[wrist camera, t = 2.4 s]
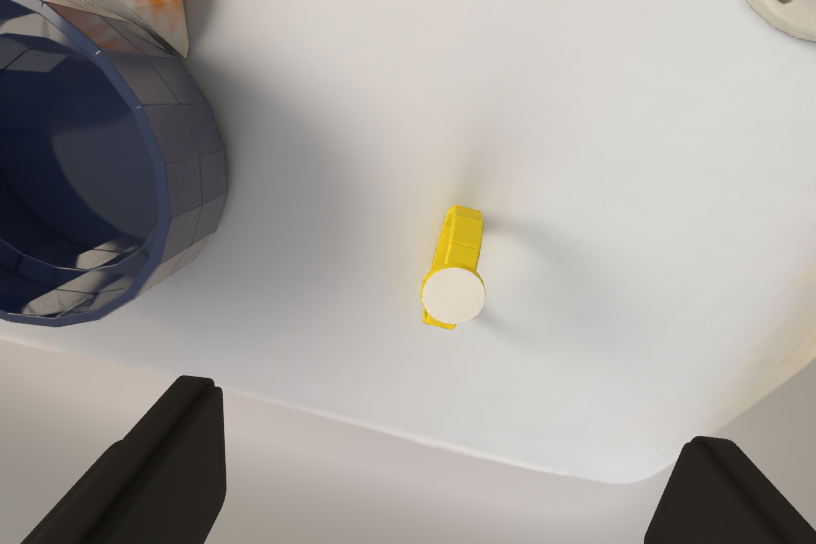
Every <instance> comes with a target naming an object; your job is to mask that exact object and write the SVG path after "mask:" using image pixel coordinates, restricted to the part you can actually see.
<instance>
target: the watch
mask: <svg viewBox="0 0 816 544" xmlns="http://www.w3.org/2000/svg"><path fill="white" fill-rule="evenodd" d="M482 233H483V220H482V214H481V212H480V211H478V210H474V209H470V208H466V207H462V206H458V205H454V206H452V207H451V208H450V209H449V211H448V213H447V216H446V218H445V220H444V222H443V228H442V231H441V235H440V238H439V242H438V245H437V249H436V252H435V256H434V259H433V263H432V266H431V270H430V272H429V273H428V274H427V275H426V276H425V278H424V280H423V283H422V288H421V300H422V304H423V308H424V309H423V322H424V323H425V324H429V325H433V326H437V327H441V328H446V329H450V330H452V329H454V328H455V326H456V325H457V324H459V323H464V322H466V321H468V320H470V319H472V318H474V317H475V316H476V315H477V314H478V313H479V312H480V310H481V308H482V307H483V305H484V301H485V289H484V284H483V280H482V279H481V277H480V275H479V274H478V272H477V271H476V268H477V264H478V259H479V255H480V249H481V242H482Z"/></svg>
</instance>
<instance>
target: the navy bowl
mask: <svg viewBox="0 0 816 544" xmlns="http://www.w3.org/2000/svg"><path fill="white" fill-rule="evenodd" d="M226 194H227V184H226V163H225V150H224V146H223V143H222V140H221V137H220V134H219V131H218V129H217V126H216V123H215V120H214V117H213V114H212V111H211V109H210V106H209V104H208V102H207V101H206V99H205V98H204V96H203V95H202V93H201V92H200V90H199V89H198V88H197V86H196V85H195V83H194V82H193V80H192V79H191V77H190V76H189V74H188V73H187V71H186V70H185V68H184V67H183V66H182V64H181V63H180V61H179V60H178V59H177V58H176V57H175V56H174V55H173V54H171V53H170V52H169V51H168V50H167V49H166V48H164V47H163V46H162V45H161V44H160V43H159V42H158V41H156V40H155V39H154V38H153V37H152V36H151V35H149V34H148V33H147V32H146V31H145V30H144V29H142V28H141V27H140V26H139V25H137V24H135V23H133V22H131V21H129V20H127V19H125V18H122V17H120V16H118V15H116V14H114V13H112V12H110V11H107V10H105V9H103V8H101V7H99V6H97V5H95V4H92V3H89V2H86V1H82V0H0V319H3V320H6V321H10V322H15V323H23V324H32V325H40V326H49V327H62V326H68V325H73V324H79V323H84V322H90V321H95V320H100V319H102V318H104V317H105V316H107V315H109V314H110V313H112V312H114V311H116V310H117V309H119V308H121V307H122V306H124V305H126V304H127V303H129V302H131V301H132V300H134V299H135V298H137V297H138V296H140V295H141V294H143V293H144V292H146V291H147V290H149V289H150V288H152V287H153V286H155V285H156V284H158V283H159V282H160V281H162V280H163V279H165V278H166V277H168V276H169V275H171V274H172V273H174V272H175V271H177V270H178V269H180V268H181V267H183V266H184V265H186V264H187V263H188V262H190V261H191V260H193V259H194V258H195V257H196V256H197V255H198V253H199V252H200V251H201V249H202V248H203V247H204V245H205V244H206V243H207V242H208V240H209V239H210V238H211V236H212V235H213V234H214V232H215V231H216V229H217V225H218V222H219V219H220V215H221V212H222V208H223V205H224V201H225V198H226Z"/></svg>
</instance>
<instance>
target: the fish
mask: <svg viewBox="0 0 816 544" xmlns="http://www.w3.org/2000/svg"><path fill="white" fill-rule="evenodd" d="M120 1H121V2H122V3H124V4H125V5H126V6H127V7H128V8H129V9H131V10H132V11H133V12H134V13H135V14H136V15H137V16H138V17H139V18H141V19H142V20H143V21H144V22H145V23H146V24H147V25H148V26H150V27H151V28H152V29H153V30H154V31H155V32H156V33H157V34H159V35H160V36H161V37H162V38H163V39H164V40H165V41H166V42H167V43H169V44H170V45H171V46H172V47H173V48H174V49H175V50H176V51H178V52H179V53H180V54H181V55H182V56H183V57H184V58H185V59H186V57H187V53H188V48H189V41H188V33H187V26H186V18H185V10H184V3H183V0H120Z"/></svg>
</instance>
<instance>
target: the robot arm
mask: <svg viewBox="0 0 816 544" xmlns="http://www.w3.org/2000/svg"><path fill="white" fill-rule="evenodd" d="M747 1H748V3H749V4H750V6H751V7H752V9H754V10H755V11H756V12H757V13H758V14H759V15H760V16H761V17H763V18H764V19H765V20H766V21H767V22H768V23H769V24H770V25H772V26H774V27H776V28H778V29H780V30H781V31H783V32H785V33H787V34H789V35H791V36H793V37H797V38H801V39H805V40H810V41H814V42H816V0H747ZM225 496H226V463H225V439H224V415H223V393H222V389H221V388H220V387H215V384H214V381H213V379H211V378H203V377H195V376H186V375H183V376H180V377H179V378H178V379H176V381H175V382H174V383H173V384H172V385H171V386H170V387H169V388H168V390H167V391H166V392H165V393H164V394H163V395H162V396H161V397H160V398H159V399H158V401H157V402H156V403H155V404H154V405H153V406H152V407H151V408H150V409H149V411H148V412H147V413H146V414H145V415H144V416H143V417H142V418H141V419H140V421H139V422H138V423H137V424H136V425H135V426H134V427H133V428H132V430H131V431H130V432H129V433H128V434H127V435H126V436H125V437H124V438H123V440H120V441H118V442H116V443H114V444H113V445H111V446H110V447H109V448H108V449H107V450H106V451H105V452H104V453H103V454H102V455H101V456H100V458H99V459H98V460H97V461H96V462H95V463H94V464H93V465H92V466H91V467H90V469H89V470H88V471H87V472H86V473H85V474H84V475H83V476H82V477H81V478H80V479H79V480H78V481H77V483H76V484H75V485H74V486H73V487H72V488H71V489H70V490H69V491H68V492H67V493H66V495H65V496H64V497H63V498H62V499H61V500H60V501H59V502H58V503H57V504H56V505H55V507H54V508H53V509H52V510H51V511H50V512H49V513H48V514H47V515H46V517H44V518H43V520H42V521H41V522H40V523H39V524H38V525H37V526H36V527H35V528H34V529H33V531H32V532H31V533H30V534H29V535H28V536H27V537H26V538H25V539H24V540H23V541H22V543H21V544H204V542H205V540H206V538H207V536H208V534H209V532H210V530H211V528H212V526H213V524H214V522H215V520H216V518H217V516H218V514H219V512H220V510H221V508H222V506H223V503H224V500H225ZM644 544H816V531H815V530H814V529H813V528H812V527H811V526H810V524H809V523H808V522H807V521H806V520H805V519H804V518H803V517H802V516H801V515H800V514H799V512H798V511H797V510H796V509H795V508H794V507H793V506H792V505H791V504H790V503H789V502H788V501H787V500H786V498H785V497H784V496H783V495H782V494H781V493H780V492H779V491H778V490H777V489H776V487H775V486H774V485H773V484H772V483H771V482H770V481H769V480H768V479H767V478H766V477H765V476H764V474H762V472H761V471H760V470H759V469H758V468H757V467H756V466H755V465H754V463H752V462H751V460H750V459H749V458H748V457H747V456H746V455H745V454H744V453H743V452H742V450H741V449H740V448H739V447H738V446H737V445H736V444H735V443H734V442H732V441H730V440H728V439H722V438H713V437H705V436H696V437H695V438H693V439H692V441H691V442H689V443H686V444H685V445H684V446H683V448H682V451H681V453H680V455H679V458H678V460H677V462H676V465H675V467H674V469H673V471H672V474H671V476H670V478H669V481H668V483H667V486H666V488H665V490H664V492H663V495H662V497H661V500H660V502H659V504H658V507H657V509H656V511H655V513H654V516H653V518H652V520H651V523H650V525H649V527H648V530H647V532H646V534H645V538H644Z"/></svg>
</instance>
